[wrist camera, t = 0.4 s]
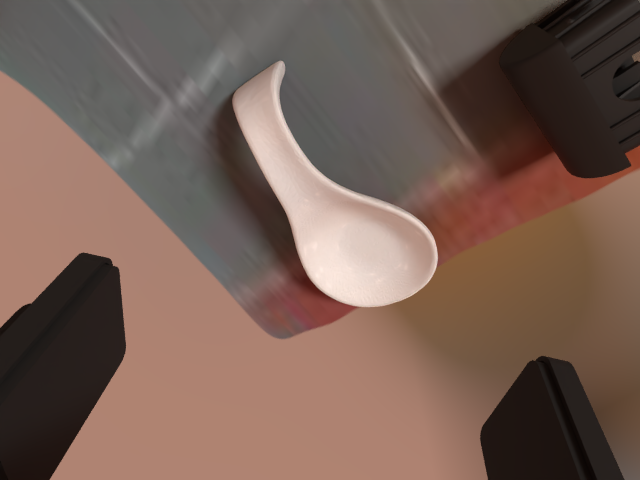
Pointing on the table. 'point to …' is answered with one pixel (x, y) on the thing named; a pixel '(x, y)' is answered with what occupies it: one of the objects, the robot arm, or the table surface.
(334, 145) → the table surface
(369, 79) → the table surface
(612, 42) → the end cap
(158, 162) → the table surface
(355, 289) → the spoon rest
